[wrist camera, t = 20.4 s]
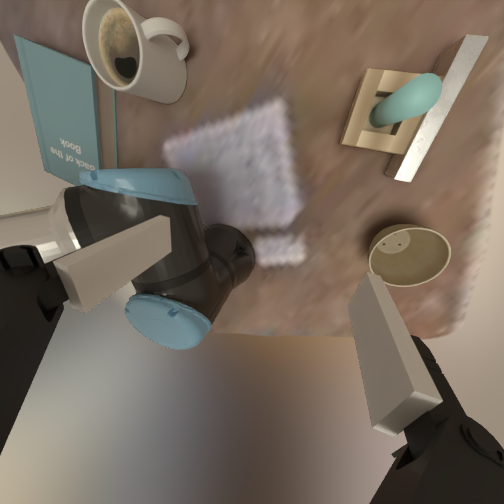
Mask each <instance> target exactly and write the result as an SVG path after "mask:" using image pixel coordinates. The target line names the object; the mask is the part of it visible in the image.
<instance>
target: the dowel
mask: <svg viewBox="0 0 504 504" xmlns="http://www.w3.org/2000/svg"><path fill="white" fill-rule="evenodd" d="M441 92H442V82H441V80H440V78H439V77H438V76H437V75H435V74H432V73H425V74H421V75H419V76H417V77H415V78H414V79H412V80H411V81H409V82H408V83H407V84H405V85H404V86H402V87H401V88H400V89H398V90H397V91H395V92H394V93H392V94H391V95H390V96H388V97H387V98H385V99H384V100H383V101H381V102H380V103H378V104H377V105H376V106H375V107H374V108H373V109H372V110H371V112H370V115H369V122H370V124H371V125H372V126H373V127H375V128H381V127H384V126H387V125H391V124H394V123H397V122H400V121H403V120H407V119H410V118H413V117H416V116H419V115H422V114H424V113H426V112H427V111H429V110H430V109H431V108H432V107H433V106H434V105H435V104H436V102H437V101H438V99H439V97H440V95H441Z"/></svg>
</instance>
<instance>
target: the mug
mask: <svg viewBox="0 0 504 504" xmlns="http://www.w3.org/2000/svg"><path fill="white" fill-rule="evenodd" d="M82 32H83V41H84V45H85V50H86V53H87V56H88V58H89V61H90V63H91V65H92V67H93V69H94V70H95V72H96V73H97V75H98V76H99V77H100V78H101V80H102V81H103V82H104V83H106V84H107V85H108V86H110V87H111V88H113V89H115V90H119V91H122V92H125V93H129V94H132V95H136V96H139V97H143V98H146V99H150V100H153V101H157V102H160V103H164V104H171V103H174V102H176V101H177V100H178V99H179V98H180V97H181V95H182V94H183V92H184V90H185V86H186V81H187V69H186V63H185V60H184V58H185V57H186V56H187V54H188V52H189V42H188V39H187V36H186V33H185V31H184V30H183V28H182V27H181V26H180V25H179V24H177V23H176V22H174V21H172V20H170V19H167V18H161V17H155V18H150V19H147V20H146V19H144V18H143V17H142V16H140V15H139V14H138V13H136V12H135V11H134V10H132V9H131V8H130V7H128V6H127V5H126V4H124V3H123V2H122V1H120V0H90V1H89V2H88V4H87V6H86V8H85V11H84V15H83V22H82ZM167 35H172V36H176V37H178V38H180V39H181V40H182V42H181V43H180V45H179V46H178V45H177V44H176V43H175V42H174V41H173V40H172V39H171V38H170V37H168V36H167Z"/></svg>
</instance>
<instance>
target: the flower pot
mask: <svg viewBox="0 0 504 504" xmlns="http://www.w3.org/2000/svg"><path fill="white" fill-rule="evenodd" d="M384 244H385V245H384ZM450 257H451V248H450V245H449V243H448V241H447V240H446V238H445V237H444V236H442V235H441V234H440V233H438V232H436V231H434V230H432V229H429V228H426V227H423V226H419V225H413V224H398V225H393V226H389V227H387V228H385V229H383V230H381V231H380V232H379V233H378V234H377V235H376V236H375V237H374V239H373V240H372V242H371V244H370V247H369V252H368V262H369V267H370V270H371V272H372V274H376V275H379V276H381V278H382V280H383V282H384V283H386V284H388V285H392V286H398V287H409V286H416V285H420V284H423V283H426V282H428V281H430V280H432V279H433V278H435V277H436V276H438V275H439V274H440V273H441V272H442V271H443V270H444V269H445V268H446V266H447V265H448V263H449V261H450Z"/></svg>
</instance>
